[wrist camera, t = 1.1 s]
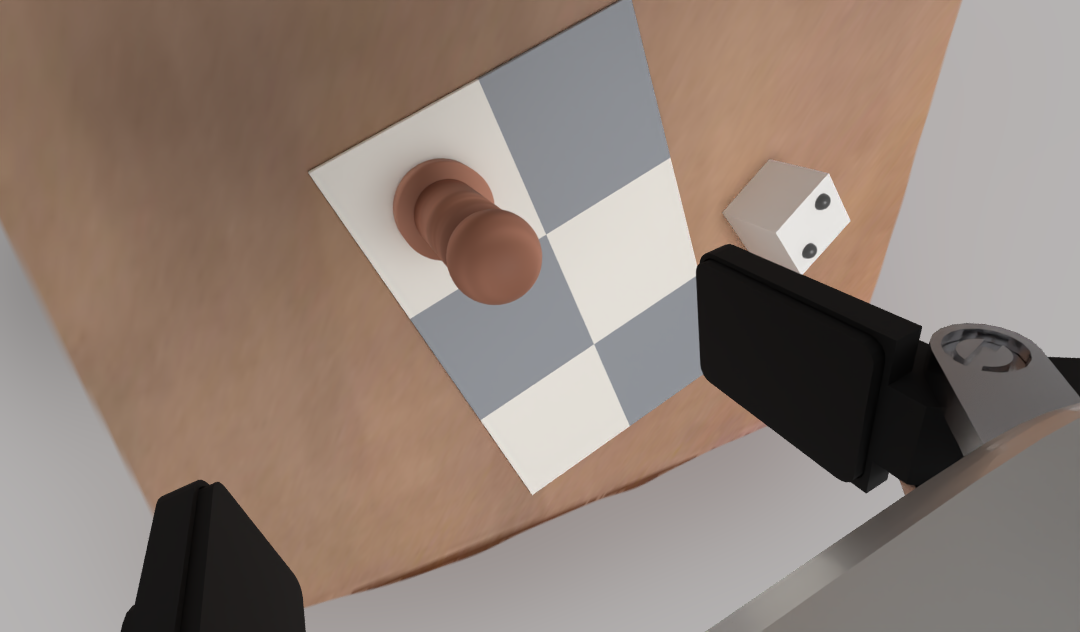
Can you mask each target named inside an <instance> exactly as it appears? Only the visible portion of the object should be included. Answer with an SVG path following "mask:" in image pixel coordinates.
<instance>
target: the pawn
mask: <svg viewBox="0 0 1080 632" xmlns="http://www.w3.org/2000/svg"><path fill="white" fill-rule="evenodd" d="M393 215H394V220H395V223H396V226H397V228H398V230H399V232H400V233H401V235H402V236H403V237H404V239H405V240H406V242H407V243H408V244H409V245H410V246H411V247H412V248H413V249H414V250H415V251H416V252H417V253H419V254H421V255H422V256H425V257H427V258H430V259H433V260H439V261H442V262H443V263H444V264H445V265H446V267H447V268H448V271H449V274H450V276H451V278H452V280H453V282H454V284H455V285H456V286H457V288H458V289H459V290H460V291H461V292H462V293H463V294H465V295H466V296H467V297H469V298H471V299H472V300H474V301H477V302H479V303H483V304H487V305H502V304H507V303H510V302H513V301H515V300H517V299H519V298H520V297H522V296H523V295H525V294H526V293H527V292H528V291H529V290H530V289H531V288H532V286H533V285H534V283H535V282H536V280H537V278H538V276H539V274H540V270H541V266H542V249H541V245H540V241H539V239H538V236H537V235H536V233H535V231H534V230H533V228H532V227H531V226H530V225H529V224H528V223H527V222H526V221H525V220H524V219H523V218H521V217H520V216H518V215H516V214H514V213H512V212H509V211H506V210H502V209H500V208H499V207H498V206H496V205H495V204H494V198H493V194H492V192H491V189H490V187H489V186H488V184H487V182H486V181H485V180H484V179H483V178H482V177H481V176H480V175H479V174H478V173H477V172H476V171H474V170H473V169H471V168H470V167H468V166H466V165H465V164H463V163H461V162H458V161H456V160H452V159H445V158H438V159H431V160H428V161H425V162H422V163H420V164H418V165H417V166H415V167H414V168H412V169H411V170H410V171H409V172H408V173H407V174H406V175H405V176H404V177H403V178H402V180H401V181H400V183H399V185H398V187H397V189H396V192H395V195H394V200H393Z"/></svg>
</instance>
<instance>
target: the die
mask: <svg viewBox="0 0 1080 632" xmlns="http://www.w3.org/2000/svg"><path fill="white" fill-rule="evenodd" d="M722 213H723V214H724V216H725V217H726V219H727V220H728V222H729V223H730V225H731V226H732V228H733V229H734V231H735V232H736V234H737V235H738V237H739V238H740V239H741V241H742V242H743V244H744V245H745V247H746V248H747V250H748V251H749V252H751V253H753V254H755V255H758V256H760V257H762V258H765V259H767V260H769V261H772V262H774V263H776V264H779V265H781V266H783V267H786V268H788V269H790V270H792V271H795V272H797V273H799V274H803V273H804V272H805V271H806V270H807V269H808V268H809V267H810V266H811V264H812V263H813V262H814V261H815V260H816V259H817V258H818V257H819V256H820V254H821V253H822V252H823V251H824V250H825V249H826V248H827V247H828V245H829V244H830V243H831V242H832V241H833V240H834V239H835V238H836V237H837V235H838V234H839V233H840V232H841V231H842V230H843V229H844V228H845V227H846V225H847V224H848V223H849V222H850V219H849V217H848V214H847V212H846V210H845V208H844V206H843V203H842V201H841V199H840V197H839V195H838V192H837V190H836V188H835V186H834V184H833V182H832V179H831V177H830V175H829V173H826V172H822V171H817V170H813V169H809V168H805V167H801V166H797V165H792V164H788V163H784V162H780V161H776V160H772V159H769V160H768V161H767V162H766V164H765V165H764V166H763V167H762V168H761V169H760V170H759V171H758V173H757V174H756V175H755V176H754V177H753V178H752V179H751V181H750V182H749V183H748V184H747V185H746V186H745V187H744V188H743V190H742V191H741V192H740V193H739V194H738V195H737V196H736V198H735V199H734V200H733V201H732V202H731V203H730V204H729V205H728V207H727V208H726V209H725V210H724V211H723V212H722Z"/></svg>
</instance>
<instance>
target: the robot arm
mask: <svg viewBox="0 0 1080 632" xmlns="http://www.w3.org/2000/svg"><path fill="white" fill-rule="evenodd" d="M696 288H697V308H698V329H699V350H700V367H701V370H702V373H703V375H704V376H705V378H706V379H707V380H708V381H709V382H710V383H712V384H713V385H714V386H716V387H717V388H718V389H719V390H721V391H722V392H723V393H725V394H726V395H727V396H729V397H730V398H731V399H733V400H734V401H735V402H737V403H738V404H739V405H741V406H742V407H743V408H745V409H746V410H747V411H749V412H750V413H751V414H753V415H754V416H755V417H757V418H758V419H759V420H761V421H762V422H763V423H765V424H766V425H767V426H768V427H770V428H771V429H773V430H774V431H775V432H777V433H778V434H779V435H780V436H782V437H783V438H784V439H786V440H787V441H788V442H790V443H791V444H792V445H794V446H795V447H796V448H798V449H799V450H800V451H802V452H803V453H804V454H806V455H807V456H808V457H810V458H811V459H812V460H813V461H815V462H816V463H817V464H819V465H820V466H821V467H823V468H824V469H826V470H827V471H828V472H830V473H831V474H832V475H833V476H835V477H836V478H838V479H839V480H841V481H844V482H851V483H853V484H854V485H855V486H857V487H858V488H859V489H861V490H862V491H864V492H865V493H868V492H869V491H871V490H872V489H874V488H875V487H877V486H878V485H880V484H881V483H883V482H884V481H886V480H887V478H888V474H889V473H891V474H892V475H894V476H895V477H897V478H898V479H899V480H900V483H901V485H902V488H903V491H904V494H905V496H904V497H902V498H901V499H899V500H898V501H896V502H895V503H893V504H892V505H890V506H889V507H888V508H886V509H885V510H883V511H882V512H880V513H879V514H877V515H876V516H874V517H873V518H872V519H870V520H868V521H867V522H865V523H864V524H863V525H861V526H860V527H858V528H857V529H855V530H854V531H852V532H851V533H849V534H848V535H846V536H845V537H843V538H842V539H840V540H839V541H838V542H836V543H834V544H833V545H832V546H830V547H829V548H827V549H826V550H824V551H823V552H821V553H820V554H818V555H817V556H815V557H814V558H812V559H811V560H809V561H808V562H806V563H805V564H804V565H802V566H801V567H799V568H798V569H796V570H795V571H793V572H792V573H791V574H789V575H788V576H786V577H785V578H783V579H782V580H780V581H779V582H778V583H776V584H774V585H773V586H771V587H770V588H769V589H767V590H766V591H764V592H763V593H761V594H760V595H758V596H757V597H756V598H754V599H753V600H751V601H750V602H748V603H747V604H745V605H744V606H742V607H741V608H739V609H738V610H736V611H735V612H734V613H732V614H731V615H729V616H728V617H726V618H725V619H724V620H722V621H720V622H719V623H718V624H716V625H715V626H713V627H712V628H710V629H709V630H707V631H706V632H1080V358H1060V357H1047V356H1046V355H1045V353H1044V352H1043V351H1042V350H1041V349H1040V348H1039V347H1038V346H1037V345H1036V344H1035V343H1033V342H1032V341H1031V340H1030V339H1027V338H1026V337H1024V336H1022V335H1020V334H1018V333H1016V332H1013V331H1010V330H1007V329H1004V328H1001V327H996V326H991V325H986V324H971V323H964V324H954V325H950V326H947V327H944V328H941V329H939V330H938V331H936V332H935V333H934V334H933V335H932V337H931V339H930V342H929V344H927V343H924V342H923V341H920V340H919V338H920V334H921V329H922V326H920V325H918V324H916V323H913V322H911V321H909V320H906V319H904V318H902V317H899V316H897V315H894V314H892V313H890V312H888V311H885V310H883V309H881V308H878V307H876V306H874V305H871V304H869V303H867V302H864V301H862V300H860V299H858V298H855V297H853V296H851V295H848V294H846V293H844V292H841V291H839V290H837V289H834V288H832V287H830V286H827V285H825V284H823V283H820V282H818V281H816V280H813V279H811V278H809V277H806V276H804V275H802V274H799V273H797V272H795V271H792V270H790V269H788V268H786V267H783V266H781V265H779V264H776V263H774V262H772V261H769V260H767V259H765V258H762V257H760V256H758V255H755V254H753V253H751V252H748V251H746V250H744V249H741V248H739V247H737V246H734V245H731V244H727V245H724V246H721V247H719V248H717V249H715V250H713V251H710V252H708V253H706V254H704V255H703V256H702V257H701V259H700V264H699V265H698V266H697V268H696ZM121 632H306V630H305V618H304V606H303V596H302V591H301V587H300V585H299V582H298V580H297V578H296V576H295V575H294V574H293V572H292V571H291V570H290V568H289V567H288V566H287V565H286V563H285V562H284V561H283V560H282V558H281V557H280V556H279V555H278V553H277V552H276V551H275V550H274V548H273V547H272V546H271V544H270V543H269V542H268V541H267V539H266V538H265V537H264V536H263V534H262V533H261V532H260V531H259V529H258V528H257V527H256V526H255V524H254V523H253V522H252V520H251V519H250V518H249V517H248V515H247V514H246V513H245V512H244V510H243V509H242V508H241V507H240V505H239V504H238V503H237V502H236V500H235V499H234V498H233V496H232V495H231V494H230V493H229V491H228V490H227V489H226V488H225V487H224V485H223V484H221V483H220V482H215V483H213V484H211V485H209V484H208V483H207V482H205V481H203V480H197V481H195V482H193V483H191V484H188V485H186V486H184V487H182V488H179V489H177V490H175V491H173V492H170V493H168V494H166V495H164V496H162V497H160V498H159V499H158V501H157V504H156V508H155V513H154V517H153V523H152V527H151V531H150V536H149V541H148V545H147V551H146V555H145V559H144V564H143V569H142V573H141V578H140V583H139V588H138V592H137V597H136V601H135V605H133V606H132V607H131V608H130V610H129V611H128V612H127V613H126V616H125V619H124V622H123V624H122V629H121Z"/></svg>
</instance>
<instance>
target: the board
mask: <svg viewBox="0 0 1080 632" xmlns="http://www.w3.org/2000/svg"><path fill="white" fill-rule="evenodd" d="M438 158H445V159H452V160H456V161H458V162H461V163H463V164H465V165H466V166H468V167H470V168H471V169H473V170H474V171H476V172H477V173H478V174H479V175H480V176H481V177H482V178H483V179H484V180H485V181H486V182H487V184H488V186H489V187H490V189H491V192H492V194H493V198H494V204H495V205H496V206H498V207H499V208H500V209H502V210H506V211H509V212H512V213H514V214H516V215H518V216H520V217H521V218H523V219H524V220H525V221H526V222H527V223H528V224H529V225H530V226H531V227H532V228H533V230H534V231H535V233H536V235H537V236H538V239H539V241H540V245H541V249H542V266H541V270H540V274H539V276H538V278H537V280H536V282H535V283H534V285H533V286H532V288H531V289H530V290H529V291H528V292H527V293H526V294H525V295H523V296H522V297H520V298H519V299H517V300H515V301H513V302H510V303H507V304H502V305H487V304H483V303H479V302H477V301H474V300H472V299H471V298H469V297H467V296H466V295H465V294H463V293H462V292H461V291H460V290H459V289H458V288H457V286H456V285H455V284H454V282H453V280H452V278H451V276H450V274H449V271H448V268H447V267H446V265H445V264H444V263H443V262H442V261H439V260H433V259H430V258H427V257H425V256H422V255H421V254H419V253H417V252H416V251H415V250H414V249H413V248H412V247H411V246H410V245H409V244H408V243H407V242H406V240H405V239H404V237H403V236H402V235H401V233H400V232H399V230H398V228H397V226H396V223H395V220H394V215H393V200H394V195H395V192H396V189H397V187H398V185H399V183H400V181H401V180H402V178H403V177H404V176H405V175H406V174H407V173H408V172H409V171H410V170H411V169H412V168H414V167H415V166H417V165H418V164H420V163H422V162H425V161H428V160H431V159H438ZM308 173H309V175H310V176H311V177H312V179H313V180H314V182H315V183H316V185H317V186H318V187H319V189H320V190H321V192H322V193H323V195H324V196H325V198H326V199H327V200H328V202H329V203H330V205H331V206H332V208H333V209H334V210H335V212H336V213H337V215H338V216H339V218H340V219H341V221H342V222H343V223H344V225H345V226H346V228H347V229H348V231H349V232H350V233H351V235H352V236H353V238H354V239H355V241H356V242H357V243H358V245H359V246H360V248H361V249H362V251H363V252H364V254H365V255H366V256H367V258H368V259H369V261H370V262H371V264H372V265H373V266H374V268H375V269H376V271H377V272H378V274H379V275H380V277H381V278H382V279H383V281H384V282H385V284H386V285H387V287H388V288H389V289H390V291H391V292H392V294H393V295H394V297H395V298H396V300H397V301H398V302H399V304H400V305H401V307H402V308H403V310H404V311H405V312H406V314H407V315H408V317H409V318H410V320H411V321H412V323H413V324H414V325H415V327H416V328H417V330H418V331H419V333H420V334H421V335H422V337H423V338H424V340H425V341H426V343H427V344H428V345H429V347H430V348H431V350H432V351H433V353H434V354H435V356H436V357H437V358H438V360H439V361H440V363H441V364H442V366H443V367H444V368H445V370H446V371H447V373H448V374H449V376H450V377H451V379H452V380H453V381H454V383H455V384H456V386H457V387H458V389H459V390H460V391H461V393H462V394H463V396H464V397H465V399H466V400H467V402H468V403H469V404H470V406H471V407H472V409H473V410H474V412H475V413H476V414H477V416H478V417H479V419H480V420H481V422H482V423H483V425H484V426H485V427H486V429H487V430H488V432H489V433H490V435H491V436H492V437H493V439H494V440H495V442H496V443H497V445H498V446H499V447H500V449H501V450H502V452H503V453H504V455H505V456H506V458H507V459H508V460H509V462H510V463H511V465H512V466H513V468H514V469H515V470H516V472H517V473H518V475H519V476H520V478H521V479H522V481H523V482H524V483H525V485H526V486H527V488H528V489H529V491H530V492H531V493H532V495H533V494H534V493H536V492H537V491H539V490H540V489H541V488H543V487H544V486H546V485H547V484H548V483H550V482H551V481H553V480H554V479H556V478H557V477H558V476H560V475H561V474H563V473H564V472H565V471H567V470H568V469H570V468H571V467H573V466H574V465H575V464H577V463H578V462H580V461H581V460H582V459H584V458H585V457H587V456H588V455H589V454H591V453H592V452H594V451H595V450H597V449H598V448H599V447H601V446H602V445H604V444H605V443H606V442H608V441H609V440H611V439H612V438H613V437H615V436H616V435H618V434H619V433H621V432H622V431H623V430H625V429H626V428H628V427H629V426H630V425H632V424H633V423H635V422H636V421H638V420H639V419H640V418H642V417H643V416H645V415H646V414H647V413H649V412H650V411H652V410H653V409H654V408H656V407H657V406H659V405H660V404H662V403H663V402H664V401H666V400H667V399H669V398H670V397H671V396H673V395H674V394H676V393H677V392H678V391H680V390H681V389H683V388H684V387H686V386H687V385H688V384H690V383H691V382H693V381H694V380H695V379H697V378H698V377H700V376H701V375H703V373H702V370H701V367H700V350H699V329H698V308H697V288H696V268H697V264H696V260H695V256H694V252H693V248H692V243H691V239H690V235H689V231H688V227H687V223H686V219H685V215H684V211H683V207H682V203H681V199H680V195H679V191H678V187H677V182H676V178H675V174H674V170H673V166H672V162H671V158H670V154H669V150H668V146H667V142H666V138H665V134H664V130H663V126H662V121H661V117H660V113H659V109H658V105H657V101H656V97H655V93H654V89H653V85H652V81H651V77H650V73H649V69H648V65H647V61H646V56H645V52H644V48H643V44H642V40H641V36H640V32H639V28H638V24H637V20H636V16H635V12H634V8H633V4H632V0H619V1H617V2H615V3H613V4H611V5H610V6H608V7H606V8H604V9H602V10H600V11H599V12H597V13H595V14H593V15H591V16H590V17H588V18H586V19H584V20H582V21H580V22H579V23H577V24H575V25H573V26H571V27H570V28H568V29H566V30H564V31H562V32H561V33H559V34H557V35H555V36H553V37H551V38H550V39H548V40H546V41H544V42H542V43H541V44H539V45H537V46H535V47H533V48H531V49H530V50H528V51H526V52H524V53H522V54H521V55H519V56H517V57H515V58H513V59H512V60H510V61H508V62H506V63H504V64H502V65H501V66H499V67H497V68H495V69H493V70H492V71H490V72H488V73H486V74H484V75H483V76H481V77H479V78H477V79H475V80H473V81H472V82H470V83H468V84H466V85H464V86H463V87H461V88H459V89H457V90H455V91H453V92H452V93H450V94H448V95H446V96H444V97H443V98H441V99H439V100H437V101H435V102H434V103H432V104H430V105H428V106H426V107H424V108H423V109H421V110H419V111H417V112H415V113H414V114H412V115H410V116H408V117H406V118H405V119H403V120H401V121H399V122H397V123H395V124H394V125H392V126H390V127H388V128H386V129H385V130H383V131H381V132H379V133H377V134H375V135H374V136H372V137H370V138H368V139H366V140H365V141H363V142H361V143H359V144H357V145H356V146H354V147H352V148H350V149H348V150H346V151H345V152H343V153H341V154H339V155H337V156H336V157H334V158H332V159H330V160H328V161H327V162H325V163H323V164H321V165H319V166H317V167H316V168H314V169H312V170H310V171H308Z"/></svg>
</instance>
